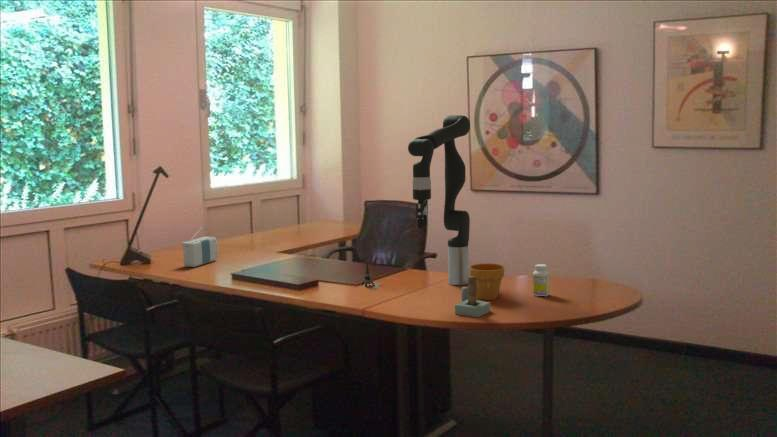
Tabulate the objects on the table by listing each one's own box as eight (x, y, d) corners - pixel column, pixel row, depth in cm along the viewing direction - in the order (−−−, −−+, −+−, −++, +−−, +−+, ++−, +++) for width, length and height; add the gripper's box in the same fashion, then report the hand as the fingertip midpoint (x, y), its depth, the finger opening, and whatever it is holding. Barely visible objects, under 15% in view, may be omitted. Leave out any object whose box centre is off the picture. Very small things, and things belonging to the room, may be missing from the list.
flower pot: (503, 301, 303) (503, 270, 301) (468, 301, 306) (468, 270, 304) (504, 293, 317) (504, 263, 315) (471, 293, 319) (470, 263, 318)
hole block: (467, 307, 295) (467, 299, 295) (490, 311, 289) (490, 302, 289) (455, 313, 287) (455, 305, 286) (478, 317, 281) (478, 308, 281)
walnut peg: (470, 311, 290) (470, 275, 289) (478, 312, 289) (477, 276, 287) (466, 312, 288) (466, 277, 286) (474, 314, 286) (473, 278, 284)
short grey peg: (464, 303, 302) (463, 286, 301) (471, 304, 300) (470, 287, 299) (460, 305, 300) (460, 288, 299) (467, 306, 298) (467, 289, 297)
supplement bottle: (538, 292, 317) (538, 262, 315) (552, 294, 312) (552, 264, 311) (529, 295, 313) (529, 265, 311) (543, 298, 308) (543, 267, 306)
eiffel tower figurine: (375, 291, 329) (374, 261, 327) (353, 290, 332) (352, 260, 330) (383, 283, 344) (382, 255, 342) (362, 282, 346) (361, 254, 344)
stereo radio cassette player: (194, 268, 386) (192, 230, 384) (181, 267, 390) (179, 229, 387) (218, 260, 405) (216, 224, 403) (206, 259, 409) (204, 223, 406)
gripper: (415, 186, 315) (416, 224, 317) (409, 189, 301) (410, 229, 303) (433, 186, 313) (434, 224, 315) (427, 189, 299) (428, 229, 302)
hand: (422, 226), depth 309 cm, fingers open, 8 cm apart
